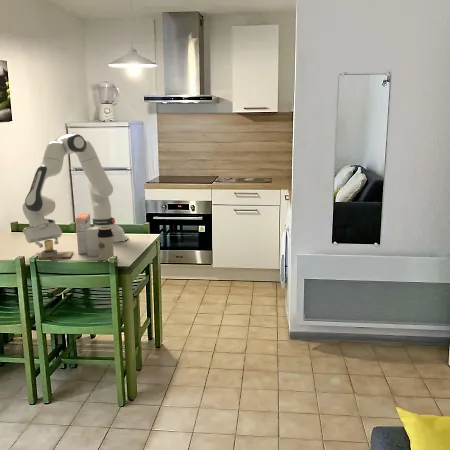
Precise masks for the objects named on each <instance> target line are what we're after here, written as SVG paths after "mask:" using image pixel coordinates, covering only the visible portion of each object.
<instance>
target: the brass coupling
mask: <svg viewBox="0 0 450 450" xmlns="http://www.w3.org/2000/svg"><path fill="white" fill-rule="evenodd" d="M43 242H44V250H45V253H51V252H54V251H53V250H54V241H53V239H48V240H43Z"/></svg>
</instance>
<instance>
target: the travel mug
mask: <svg viewBox="0 0 450 450" xmlns="http://www.w3.org/2000/svg"><path fill="white" fill-rule="evenodd" d="M111 229H112V227H111V226H101V227H98V230H99V232H98V249H99V256H98V260H100V261H101V260H108V259H109V258H110V257H112V256H114V253H115V252H114V242H113V233H112V231H111ZM114 257H115V256H114Z"/></svg>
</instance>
